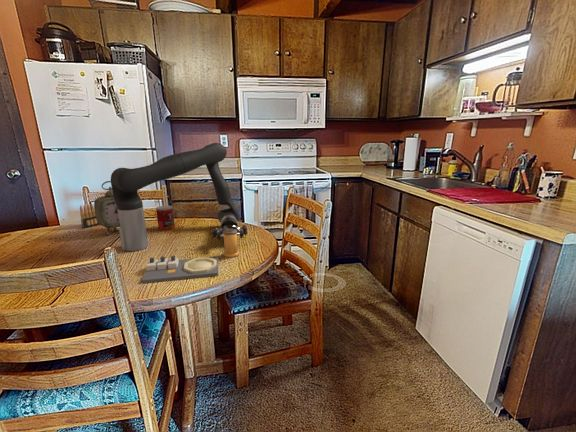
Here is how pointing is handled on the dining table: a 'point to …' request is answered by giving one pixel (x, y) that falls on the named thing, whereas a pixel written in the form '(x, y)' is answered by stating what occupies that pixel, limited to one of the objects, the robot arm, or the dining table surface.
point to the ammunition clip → (88, 217)
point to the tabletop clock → (107, 210)
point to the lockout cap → (230, 243)
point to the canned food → (165, 217)
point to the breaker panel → (179, 269)
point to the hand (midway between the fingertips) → (230, 236)
